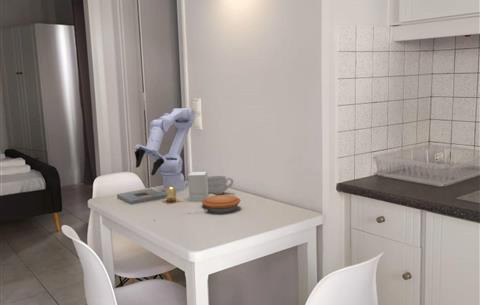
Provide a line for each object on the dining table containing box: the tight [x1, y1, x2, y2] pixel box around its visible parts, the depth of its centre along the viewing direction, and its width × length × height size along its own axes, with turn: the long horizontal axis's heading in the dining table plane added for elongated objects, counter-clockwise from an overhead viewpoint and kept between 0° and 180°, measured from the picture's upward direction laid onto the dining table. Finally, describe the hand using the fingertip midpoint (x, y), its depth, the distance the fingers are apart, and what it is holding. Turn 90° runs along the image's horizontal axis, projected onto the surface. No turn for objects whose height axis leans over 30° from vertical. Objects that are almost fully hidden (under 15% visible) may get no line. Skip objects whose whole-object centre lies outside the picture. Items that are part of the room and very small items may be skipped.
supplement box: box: [187, 171, 210, 202], centre depth 206 cm, size 7×7×13 cm
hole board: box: [116, 188, 167, 205], centre depth 212 cm, size 16×16×3 cm
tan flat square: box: [160, 198, 184, 205], centre depth 204 cm, size 7×7×2 cm
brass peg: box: [165, 186, 177, 203], centre depth 203 cm, size 4×4×6 cm
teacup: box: [207, 175, 234, 196], centre depth 220 cm, size 14×11×8 cm
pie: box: [201, 194, 241, 214], centre depth 194 cm, size 15×16×5 cm
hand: (145, 170), depth 203 cm, fingers open, 7 cm apart
